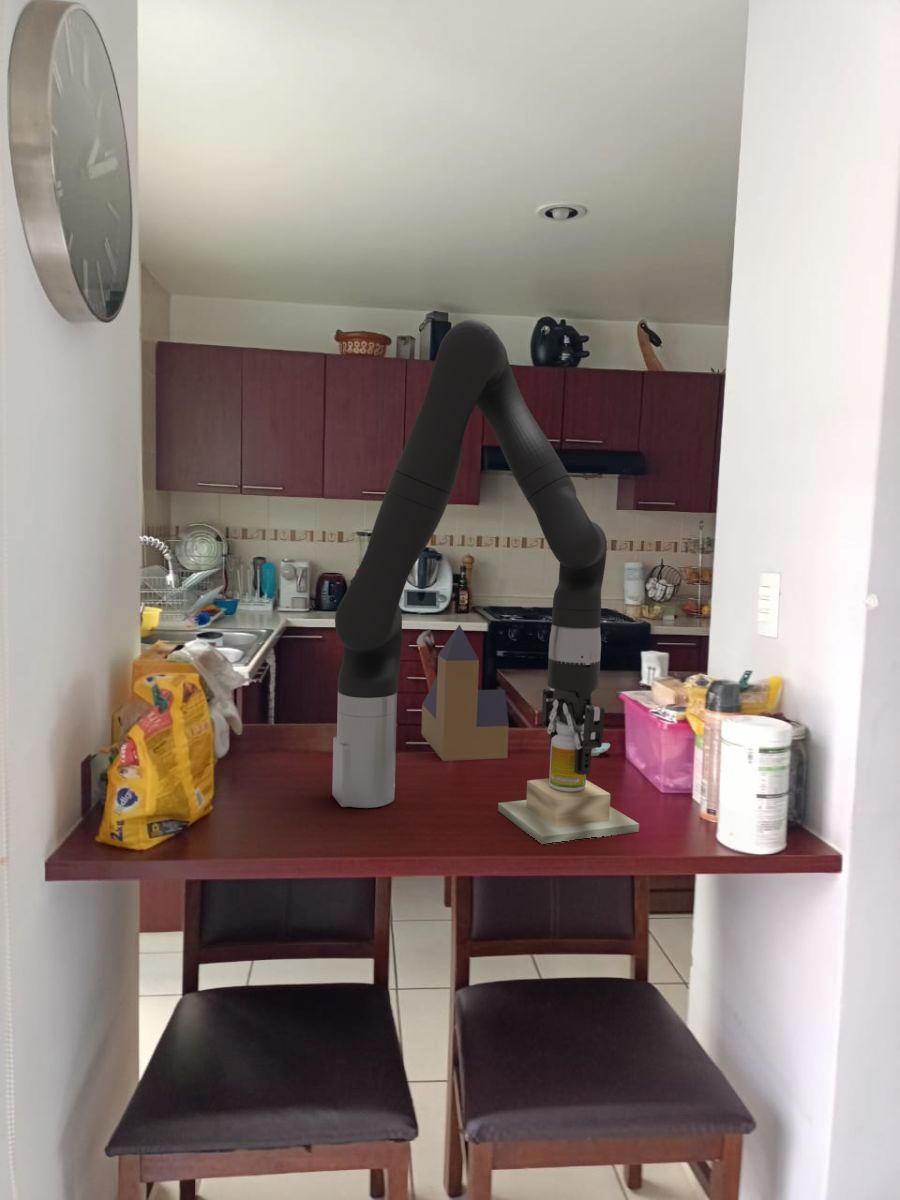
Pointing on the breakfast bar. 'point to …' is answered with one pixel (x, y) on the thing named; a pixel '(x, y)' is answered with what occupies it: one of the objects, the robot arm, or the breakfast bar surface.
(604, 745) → the pacifier
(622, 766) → the breakfast bar surface
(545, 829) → the pedestal base
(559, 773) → the supplement bottle
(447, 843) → the breakfast bar surface
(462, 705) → the toy building blocks
